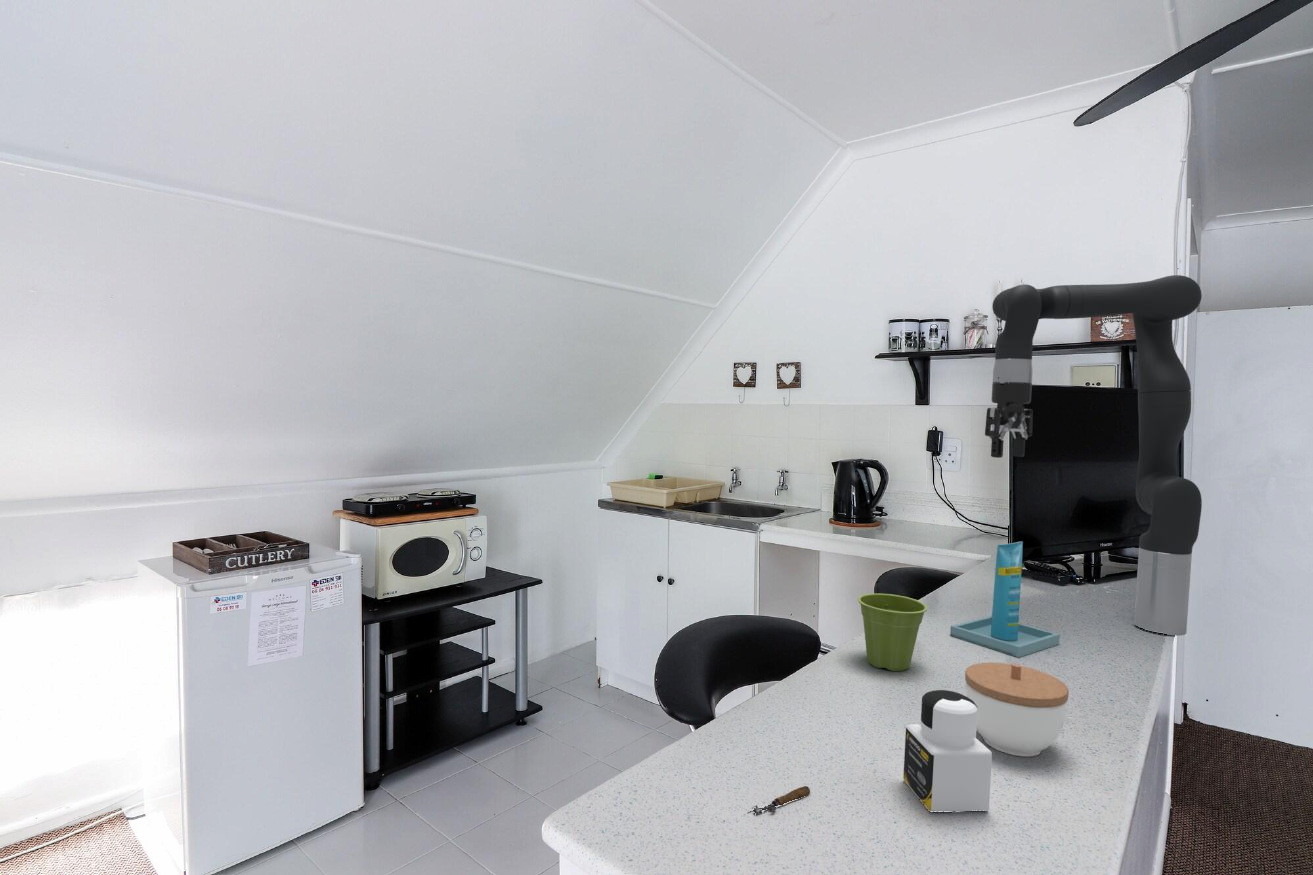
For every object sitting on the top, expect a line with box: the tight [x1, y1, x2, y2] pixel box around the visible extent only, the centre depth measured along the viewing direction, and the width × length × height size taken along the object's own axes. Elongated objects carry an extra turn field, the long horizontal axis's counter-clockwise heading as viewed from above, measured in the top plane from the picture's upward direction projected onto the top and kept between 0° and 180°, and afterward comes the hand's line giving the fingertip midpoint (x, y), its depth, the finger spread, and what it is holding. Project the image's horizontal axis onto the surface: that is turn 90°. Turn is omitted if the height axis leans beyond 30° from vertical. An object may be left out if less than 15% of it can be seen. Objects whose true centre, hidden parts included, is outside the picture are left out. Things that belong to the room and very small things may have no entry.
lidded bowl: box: [964, 662, 1069, 758], centre depth 96 cm, size 13×13×11 cm
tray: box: [949, 615, 1061, 659], centre depth 141 cm, size 15×14×2 cm
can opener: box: [752, 785, 811, 814], centre depth 80 cm, size 9×2×1 cm, turn 119°
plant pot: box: [857, 593, 929, 672], centre depth 125 cm, size 12×12×11 cm
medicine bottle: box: [903, 689, 993, 812], centre depth 83 cm, size 7×7×12 cm
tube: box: [991, 541, 1024, 641], centre depth 141 cm, size 7×5×19 cm, turn 123°
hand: (1007, 457), depth 150 cm, fingers open, 8 cm apart
